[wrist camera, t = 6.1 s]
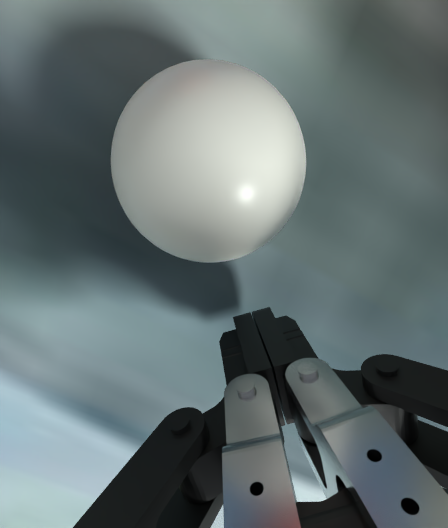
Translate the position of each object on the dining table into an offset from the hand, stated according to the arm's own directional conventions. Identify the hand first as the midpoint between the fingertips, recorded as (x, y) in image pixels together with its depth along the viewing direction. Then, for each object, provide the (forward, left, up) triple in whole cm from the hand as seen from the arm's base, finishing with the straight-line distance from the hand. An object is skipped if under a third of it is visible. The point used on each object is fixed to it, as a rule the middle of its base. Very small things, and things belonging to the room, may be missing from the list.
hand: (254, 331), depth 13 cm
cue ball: (0, -7, +1) cm, 7 cm away
